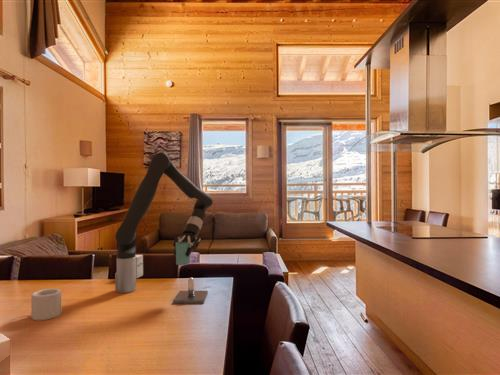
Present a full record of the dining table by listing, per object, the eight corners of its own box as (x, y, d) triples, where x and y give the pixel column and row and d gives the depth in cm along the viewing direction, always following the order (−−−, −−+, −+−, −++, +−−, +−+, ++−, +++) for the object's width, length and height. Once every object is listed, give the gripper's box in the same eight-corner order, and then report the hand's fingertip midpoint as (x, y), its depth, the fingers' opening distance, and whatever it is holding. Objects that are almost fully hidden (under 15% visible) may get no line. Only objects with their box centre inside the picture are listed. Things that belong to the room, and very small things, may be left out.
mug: (67, 312, 143) (67, 289, 143) (44, 322, 132) (44, 297, 132) (44, 309, 147) (43, 286, 147) (20, 318, 137) (19, 293, 137)
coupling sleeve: (173, 264, 159) (173, 243, 158) (181, 261, 164) (180, 241, 164) (184, 265, 156) (184, 244, 156) (191, 262, 162) (191, 241, 162)
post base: (173, 303, 152) (172, 282, 152) (179, 293, 166) (179, 273, 166) (203, 303, 152) (203, 281, 152) (207, 293, 166) (207, 273, 166)
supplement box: (137, 278, 194) (136, 257, 194) (125, 278, 196) (125, 256, 196) (143, 275, 201) (143, 254, 201) (132, 274, 203) (132, 254, 203)
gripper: (178, 222, 170) (164, 250, 159) (202, 222, 164) (190, 251, 153) (184, 231, 175) (171, 258, 164) (208, 232, 169) (196, 260, 158)
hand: (180, 255), depth 159 cm, fingers closed on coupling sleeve, 6 cm apart
